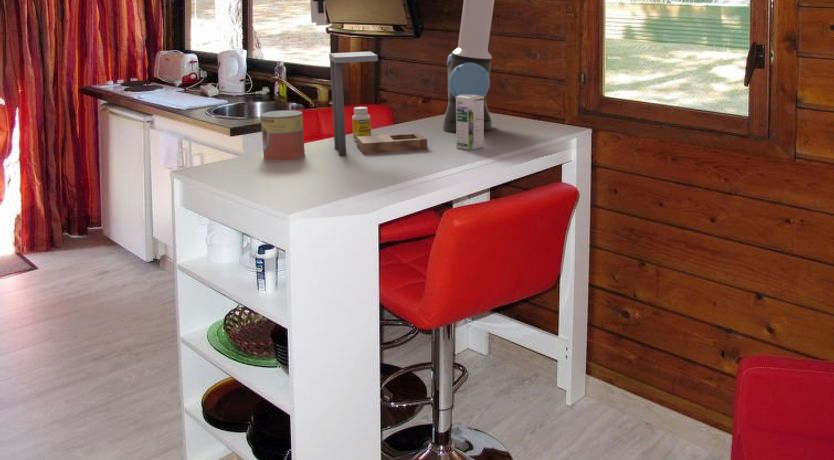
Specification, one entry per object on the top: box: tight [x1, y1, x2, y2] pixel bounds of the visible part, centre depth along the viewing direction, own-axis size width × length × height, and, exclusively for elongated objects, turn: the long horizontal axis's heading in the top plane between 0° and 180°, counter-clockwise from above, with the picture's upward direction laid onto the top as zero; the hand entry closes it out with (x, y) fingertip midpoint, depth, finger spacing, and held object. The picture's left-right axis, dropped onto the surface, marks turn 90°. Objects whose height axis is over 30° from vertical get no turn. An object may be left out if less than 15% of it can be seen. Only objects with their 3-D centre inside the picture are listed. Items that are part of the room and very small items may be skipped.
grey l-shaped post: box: [328, 51, 379, 157], centre depth 255 cm, size 12×12×26 cm
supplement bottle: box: [351, 106, 372, 142], centre depth 272 cm, size 5×5×10 cm
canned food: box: [260, 109, 306, 163], centre depth 251 cm, size 11×11×12 cm
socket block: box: [356, 132, 428, 155], centre depth 260 cm, size 18×11×3 cm, turn 102°
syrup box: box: [455, 95, 485, 151], centre depth 256 cm, size 6×6×14 cm
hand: (318, 24), depth 266 cm, fingers open, 13 cm apart
